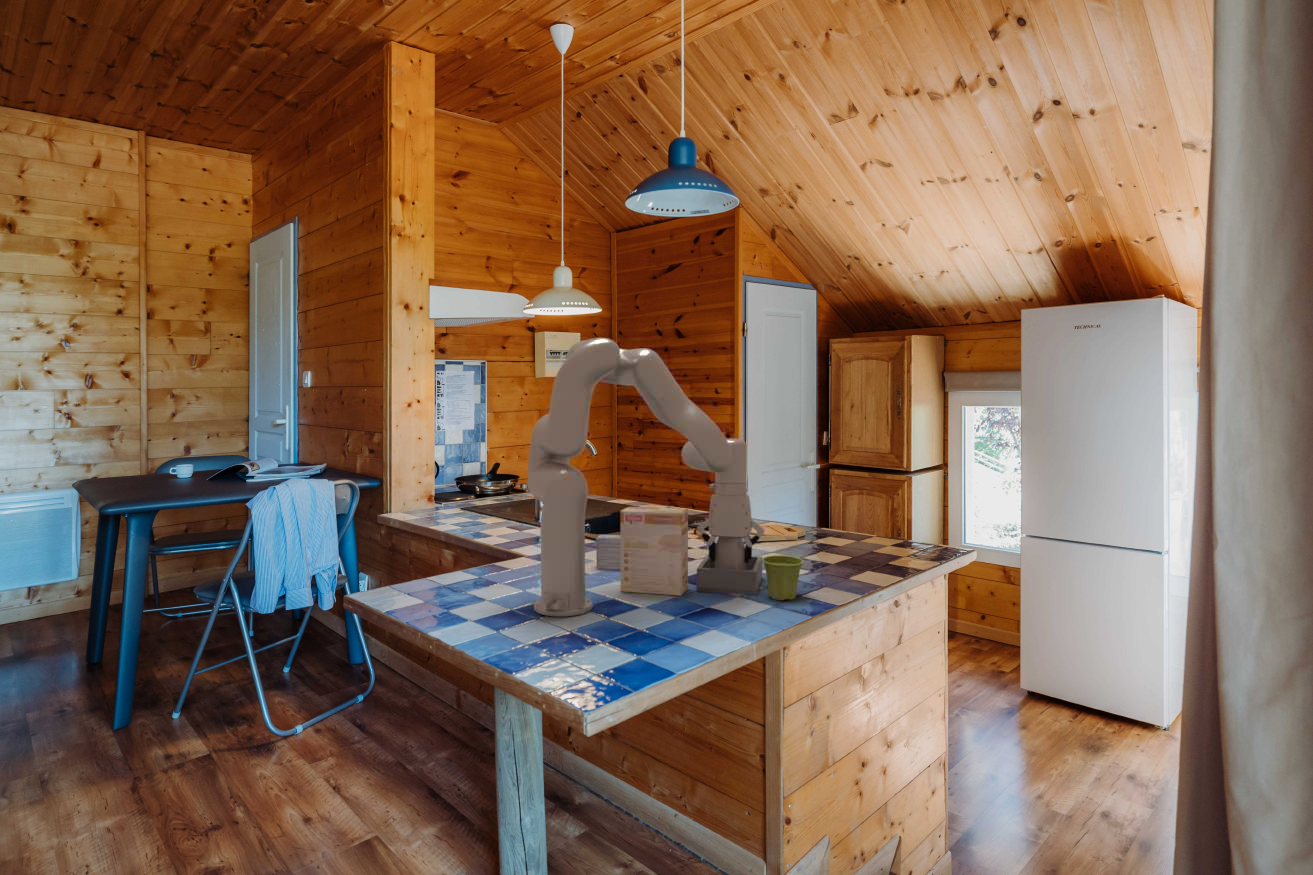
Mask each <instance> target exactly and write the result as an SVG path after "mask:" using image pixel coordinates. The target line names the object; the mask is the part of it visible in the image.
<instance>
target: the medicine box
mask: <svg viewBox="0 0 1313 875" xmlns="http://www.w3.org/2000/svg"><path fill="white" fill-rule="evenodd" d="M595 540H596V541H595V544H596V547H595V548H596V549H595V550H596V556H595V557H596V570H599V571H600V570H601V571H602V570H604V571H605V570H609V571H610V570H611V571H613V570H614V571H616V570H617V571H621V534H599V535H598V536H597V537H596V539H595Z"/></svg>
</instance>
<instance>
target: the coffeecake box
mask: <svg viewBox="0 0 1313 875" xmlns="http://www.w3.org/2000/svg"><path fill="white" fill-rule="evenodd" d="M688 509H689V508H676V507H675V508H673V507H672V508H671V507H649V506H648V507H646V506H645V507H644V506H643V507H642V506H628V507H625V508H623V509H621V510H620V513H619V514H620V515H619V516H620V535H621V570H620V591H621V593H622V592H623V593H638V594H639V593H640V594H650V595H651V594H653V595H654V594H655V595H667V596H680V597H682V596H683V594H684V593H685V592H686V591H688V589H689V540H688V539H689V536H688V535H689V521H688V520H689V519H688V518H689V514H688V513H689V512H688V511H689V510H688Z"/></svg>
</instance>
